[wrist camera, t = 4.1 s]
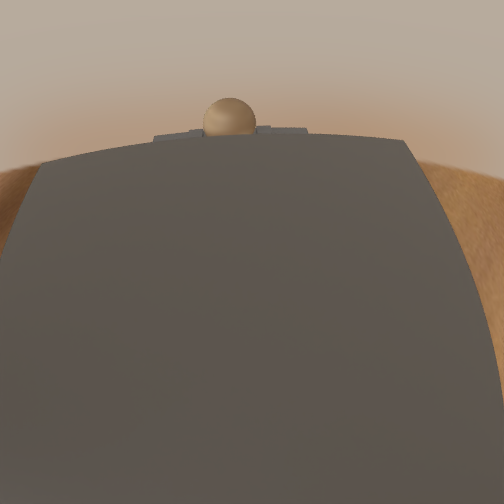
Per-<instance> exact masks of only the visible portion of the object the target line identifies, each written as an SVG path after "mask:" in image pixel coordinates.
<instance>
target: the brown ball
mask: <svg viewBox="0 0 504 504" xmlns="http://www.w3.org/2000/svg"><path fill="white" fill-rule="evenodd" d="M255 127H256V119H255V115H254V113H253V111H252V109H251V108H250V107H249V106H248V105H247V104H246V103H245V102H243V101H241V100H239V99H235V98H225V99H221V100H218V101H217V102H215V103H214V104H212V105H211V106H210V107H209V108H208V110H207V111H206V113H205V115H204V119H203V128H204V132H205V134H206V136H221V135H240V134H253V133H254V131H255Z"/></svg>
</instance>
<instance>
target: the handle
mask: <svg viewBox="0 0 504 504" xmlns="http://www.w3.org/2000/svg"><path fill="white" fill-rule="evenodd" d="M0 504H504V405H503V397H502V389H501V383H500V377H499V371H498V366H497V361H496V356H495V352H494V347H493V343H492V339H491V335H490V331H489V327H488V324H487V320H486V316H485V313H484V310H483V306H482V303H481V300H480V297H479V294H478V291H477V288H476V285H475V282H474V280H473V277H472V274H471V271H470V269H469V266H468V264H467V261H466V259H465V256H464V254H463V251H462V249H461V246H460V244H459V242H458V239H457V237H456V235H455V233H454V231H453V228H452V226H451V224H450V222H449V220H448V218H447V216H446V214H445V212H444V210H443V208H442V206H441V204H440V202H439V200H438V198H437V196H436V194H435V192H434V190H433V189H432V187H431V185H430V183H429V181H428V180H427V178H426V176H425V174H424V173H423V171H422V169H421V168H420V166H419V164H418V163H417V161H416V159H415V158H414V156H413V154H412V153H411V151H410V150H409V148H408V147H407V145H406V143H405V142H404V141H403V140H394V139H385V138H375V137H363V136H349V135H348V136H347V135H329V134H240V135H221V136H207V137H195V138H184V139H175V140H166V141H158V142H150V143H143V144H136V145H129V146H123V147H118V148H111V149H106V150H100V151H95V152H90V153H85V154H80V155H76V156H71V157H67V158H63V159H58V160H54V161H50V162H46V163H42V164H41V166H40V168H39V170H38V171H37V173H36V175H35V177H34V179H33V181H32V183H31V185H30V187H29V189H28V191H27V193H26V195H25V197H24V200H23V202H22V204H21V206H20V208H19V211H18V213H17V215H16V218H15V220H14V223H13V225H12V228H11V230H10V233H9V235H8V238H7V241H6V243H5V246H4V249H3V252H2V255H1V258H0Z"/></svg>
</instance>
